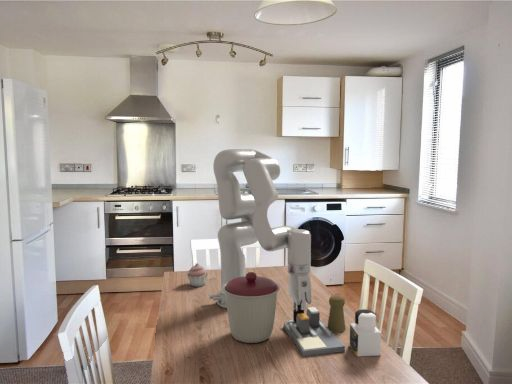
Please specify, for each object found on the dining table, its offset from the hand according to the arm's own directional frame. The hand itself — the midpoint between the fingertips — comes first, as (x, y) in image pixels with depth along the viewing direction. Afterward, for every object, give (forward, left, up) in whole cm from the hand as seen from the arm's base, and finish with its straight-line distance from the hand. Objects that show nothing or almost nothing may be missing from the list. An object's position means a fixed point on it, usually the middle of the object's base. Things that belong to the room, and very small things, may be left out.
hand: (298, 321), depth 134 cm
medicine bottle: (+15, -17, -3) cm, 23 cm away
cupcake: (-29, +54, -3) cm, 61 cm away
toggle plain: (+5, 0, -1) cm, 5 cm away
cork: (+13, -1, -3) cm, 13 cm away
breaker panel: (+2, -6, -3) cm, 7 cm away
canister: (-16, 0, -3) cm, 16 cm away
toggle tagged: (0, -4, -1) cm, 4 cm away
